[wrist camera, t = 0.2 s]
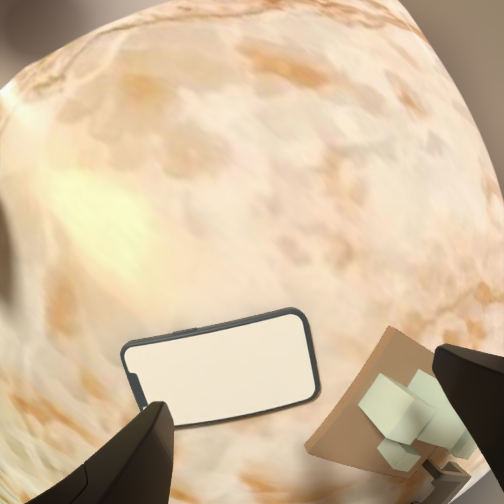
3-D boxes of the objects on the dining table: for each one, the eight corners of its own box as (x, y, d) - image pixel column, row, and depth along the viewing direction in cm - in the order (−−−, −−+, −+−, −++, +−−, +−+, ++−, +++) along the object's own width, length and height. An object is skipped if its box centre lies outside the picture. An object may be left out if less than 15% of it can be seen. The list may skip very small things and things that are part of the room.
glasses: (455, 462, 24) (471, 476, 19) (401, 518, 23) (413, 535, 18) (423, 455, 23) (441, 473, 19) (363, 517, 23) (373, 537, 18)
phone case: (299, 301, 24) (121, 339, 23) (304, 304, 22) (115, 344, 21) (317, 391, 24) (152, 423, 23) (322, 398, 22) (148, 431, 21)
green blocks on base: (404, 472, 23) (431, 505, 16) (304, 444, 23) (322, 493, 15) (470, 379, 24) (511, 398, 16) (388, 325, 24) (436, 345, 16)
